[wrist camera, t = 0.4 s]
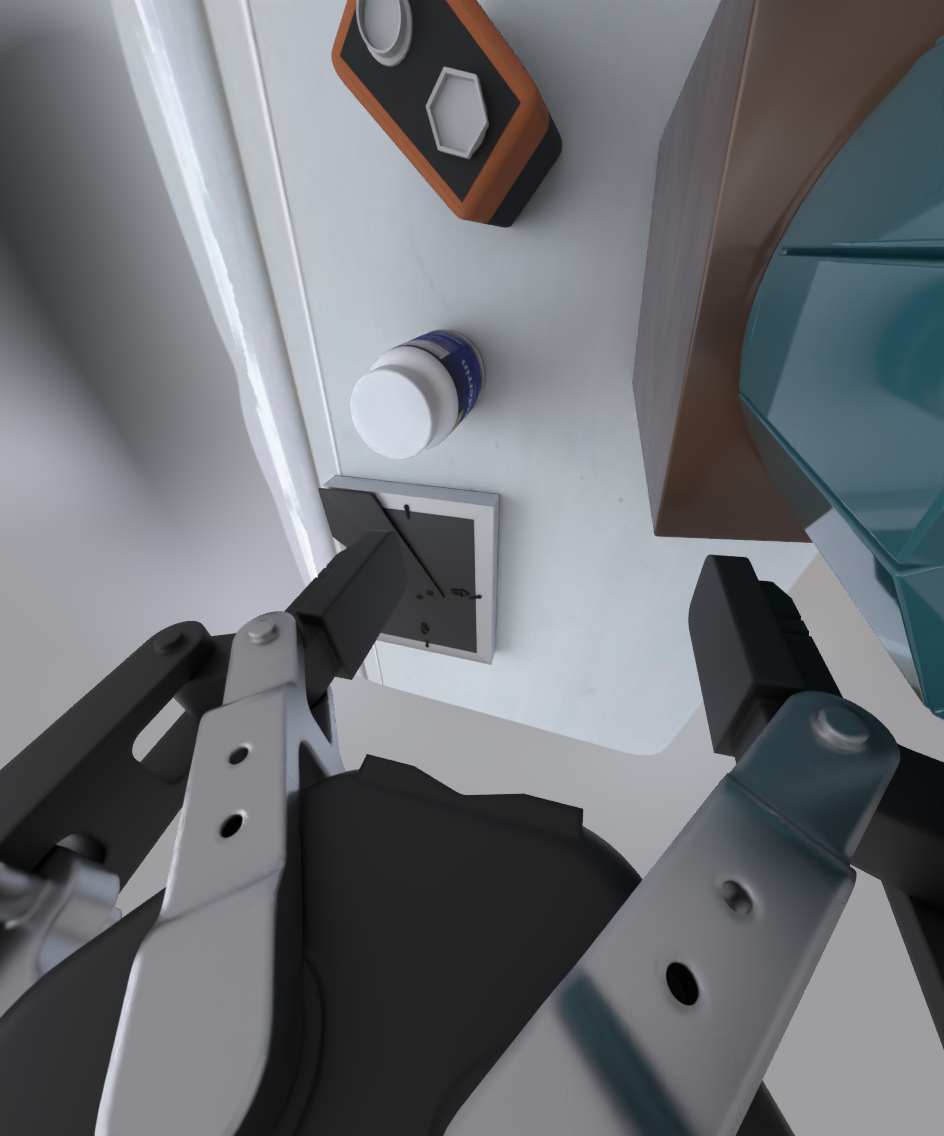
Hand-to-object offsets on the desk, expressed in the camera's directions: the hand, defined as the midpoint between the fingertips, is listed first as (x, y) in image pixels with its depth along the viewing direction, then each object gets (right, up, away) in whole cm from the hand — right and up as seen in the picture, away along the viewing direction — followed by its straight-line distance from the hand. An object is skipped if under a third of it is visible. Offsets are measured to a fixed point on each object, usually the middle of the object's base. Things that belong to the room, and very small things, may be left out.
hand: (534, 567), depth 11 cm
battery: (-1, +23, +10) cm, 25 cm away
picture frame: (-7, 0, +31) cm, 31 cm away
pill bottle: (-3, +14, +18) cm, 23 cm away
